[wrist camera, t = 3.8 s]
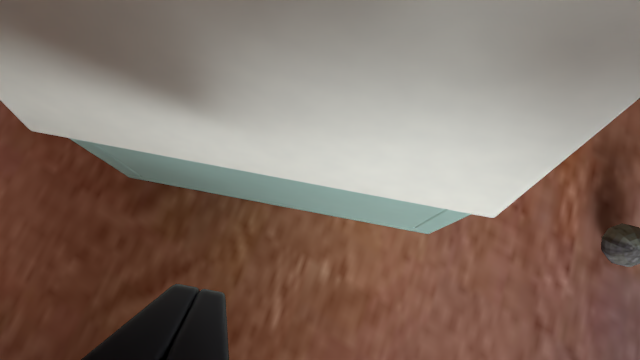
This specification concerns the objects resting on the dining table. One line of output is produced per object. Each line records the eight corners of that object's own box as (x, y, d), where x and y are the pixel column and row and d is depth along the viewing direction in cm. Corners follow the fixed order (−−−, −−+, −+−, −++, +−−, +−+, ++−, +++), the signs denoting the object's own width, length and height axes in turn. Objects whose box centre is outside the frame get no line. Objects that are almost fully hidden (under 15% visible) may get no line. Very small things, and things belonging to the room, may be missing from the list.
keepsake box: (201, -94, 23) (160, -248, 17) (469, -45, 23) (535, -180, 17) (127, 177, 21) (43, 123, 14) (429, 234, 21) (489, 207, 14)
